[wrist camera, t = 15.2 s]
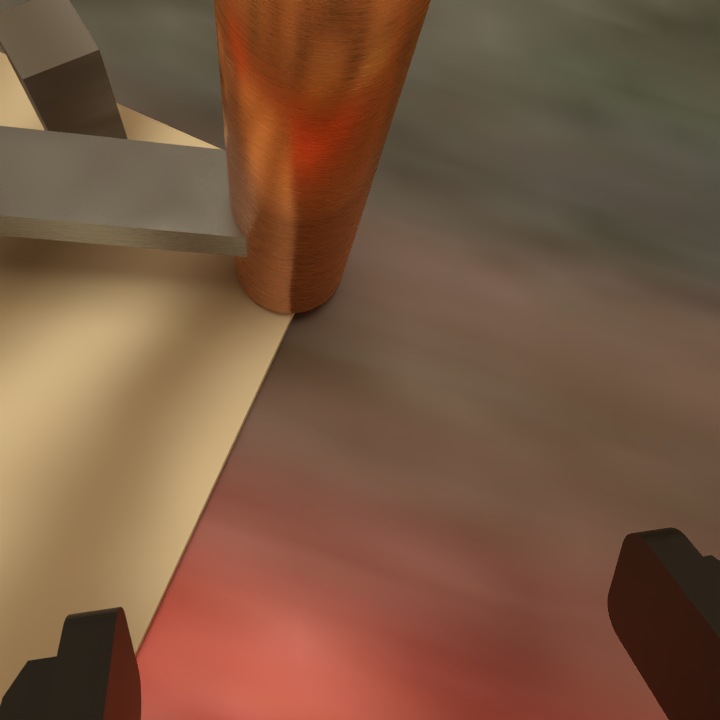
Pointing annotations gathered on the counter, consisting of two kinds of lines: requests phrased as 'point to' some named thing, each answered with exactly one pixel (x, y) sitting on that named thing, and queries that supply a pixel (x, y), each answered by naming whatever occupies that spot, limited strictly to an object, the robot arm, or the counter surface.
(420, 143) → the counter surface
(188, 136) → the hub board
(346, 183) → the lever
